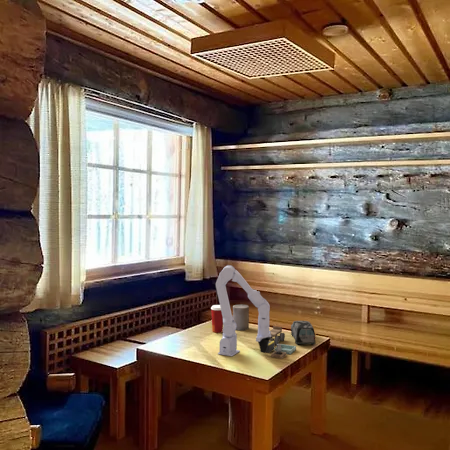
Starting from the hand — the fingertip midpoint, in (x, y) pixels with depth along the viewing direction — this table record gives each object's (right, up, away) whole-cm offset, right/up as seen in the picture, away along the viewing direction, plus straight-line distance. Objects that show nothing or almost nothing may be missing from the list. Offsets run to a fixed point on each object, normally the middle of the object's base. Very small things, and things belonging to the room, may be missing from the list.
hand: (263, 352), depth 250 cm
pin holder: (+8, -1, -3) cm, 8 cm away
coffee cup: (-24, +1, +41) cm, 48 cm away
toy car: (+24, 0, +27) cm, 36 cm away
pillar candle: (-10, +2, +49) cm, 50 cm away
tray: (+12, -1, +6) cm, 13 cm away
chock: (+3, -1, +6) cm, 7 cm away
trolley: (+7, 0, +22) cm, 23 cm away
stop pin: (+8, -1, -3) cm, 8 cm away
